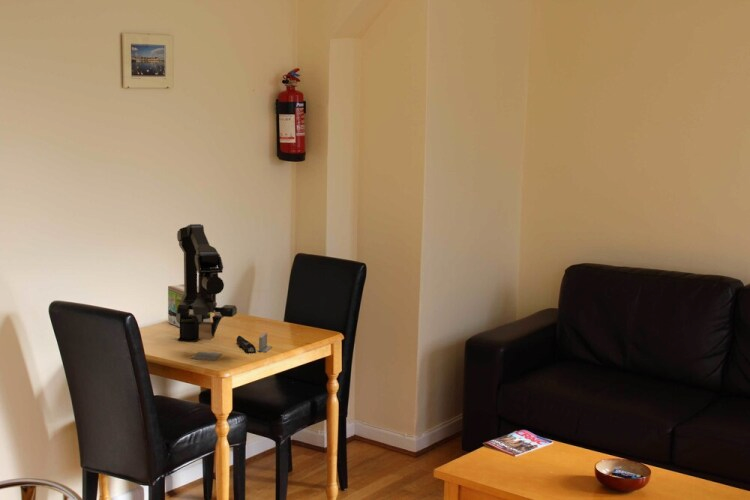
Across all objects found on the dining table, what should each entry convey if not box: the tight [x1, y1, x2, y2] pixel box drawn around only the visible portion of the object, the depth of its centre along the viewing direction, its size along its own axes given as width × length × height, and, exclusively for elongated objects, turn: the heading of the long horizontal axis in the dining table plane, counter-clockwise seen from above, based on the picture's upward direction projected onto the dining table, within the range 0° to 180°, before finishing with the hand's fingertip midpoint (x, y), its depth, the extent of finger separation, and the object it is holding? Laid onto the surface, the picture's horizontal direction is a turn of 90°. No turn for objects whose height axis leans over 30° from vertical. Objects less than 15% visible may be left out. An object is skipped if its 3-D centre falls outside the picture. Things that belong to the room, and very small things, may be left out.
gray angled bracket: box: [257, 332, 272, 353], centre depth 319 cm, size 3×7×5 cm, turn 172°
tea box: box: [167, 283, 211, 328], centre depth 349 cm, size 15×10×15 cm
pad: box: [190, 351, 223, 361], centre depth 307 cm, size 8×8×1 cm
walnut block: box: [198, 321, 215, 341], centre depth 306 cm, size 4×4×5 cm
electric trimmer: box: [235, 335, 257, 354], centre depth 320 cm, size 4×16×3 cm, turn 23°
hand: (206, 335), depth 306 cm, fingers closed on walnut block, 4 cm apart
